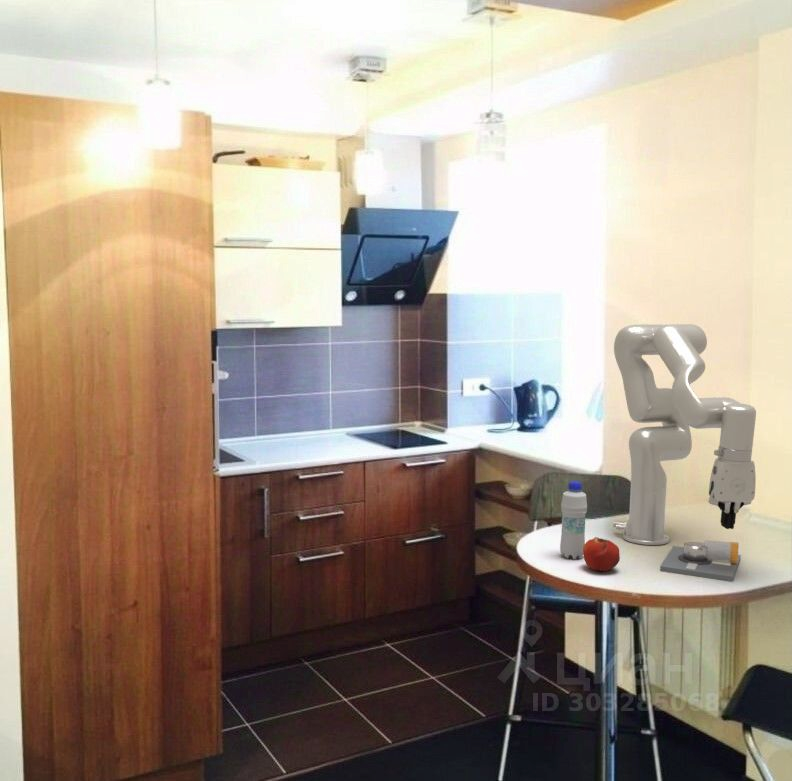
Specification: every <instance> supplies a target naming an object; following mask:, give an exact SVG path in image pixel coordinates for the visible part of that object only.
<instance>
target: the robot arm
mask: <svg viewBox="0 0 792 781" xmlns="http://www.w3.org/2000/svg"><path fill="white" fill-rule="evenodd" d="M615 336H616V337H615V339H614V343H613V353H614V357H615V361H616V364H617V367H618V370H619V371H620V374H621V379H622V384H623V389H624V396H625V400H626V406H627V407H626V408H627V410H628V414H629V417H630V418H631V420H632V421H634V422H635V423H639V424H640V423H642V424H650V423H652V424H653V423H661V424H662V425H661V426H645V427H640V428H638V429H635V430H634V431H633V432H632V433H631V435H630V437H629V439H628V450H629V455H630V494H629V495H630V496H629V514H628V517H629V518H628V520H625V521H620V520H613V522H612V523H613V525H612V526H613V528H615V529H616V530H623V533H622V539H624V540H626V541H627V542H628V543H629V542H630V543H633V544H636V545H643V546H644V545H645V546H661V545H666V544H668V543H669V542H670V536H669V535H668V534H667V533H665V520H666V518H665V517H666V496H667V475H666V471H665V469H664V468H663V466H662V463H661V462H666V461H667V462H668V461H678V460H683V459H685V458H687V457H688V456H689V455H690V453H691V451H692V448H693V439H692V432H691V430H690V428H693V429H698V430H700V429H720V435H719V436H720V437H719V444H718V445H719V446H718V449H715V450H713V455H714V456H717V457H716V458H715V460H714V462H713V465H712V468H711V472H710V478H709V484H708V495H709V499H708V501H707V502H708V504H711V506H712V505H713V506H716V507H718V508H719V510H720V511H721V513H720V526H722V528H725V529H727V530H733V529H734V528H735V524H736V519H737V517H736V516H737V514H738V513H739V512H740V509H741V508H743V507H744V506H747V505H748V506H749V505H751V504H752V501H753V500H755V496H756V481H757V480H756V465H755V461H754V460H752V456H753V455H752V454H753V446H754V444H753V443H754V435H755V426H756V420H757V419H756V418H757V410H756V408H755V407H754V406H752V405H750V404H746V403H741V402H739V401H737V400H735V399H734V398H730V397H723V396H722V397H698V396H697V394H695V392H694V391H693V389H692V386H691V385H690V384H692V383H695V382H696V381H697V380H698V379H700V378H701V377H702V375H703V374H704V372H705V370H706V363H705V361H704V360H703V358H702V356H701V354H702V353H703V352H704V351H705V350H706V348H707V345H708V344H707V343H708V339H707V335H706V333H705V331H704V330H703V329H702V328H701V327H700V326H698V325H696V324H693V323H692V324H690V323H688V324H685V323H684V324H682V323H681V324H679V323H676V324H673V323H672V324H647V323H646V324H643V323H642V324H632V325H631V324H630V325H628V326H624V327H622V328H620V330H619V331H618V332H617V334H616V335H615ZM643 356H659V357H660V359H661V360H662V361H663V363H664V365H665V366H666V368H667V369H668V371H669V372H670V374H671V376H672V377H673V382H672V387H671V388H669V387H668V388H667V387H666V388H665V387H662V388H661V387H660V388H658V387H657V385H656V381H655V376H654V372H653V369H652V368H651V367H650V365H649V364H648V363H647V360H645V359H644V358H643Z"/></svg>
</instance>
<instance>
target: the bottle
mask: <svg viewBox="0 0 792 781" xmlns="http://www.w3.org/2000/svg"><path fill="white" fill-rule="evenodd" d="M582 489H583V485H582V483H581V482H580V481H577V480H571V481H570V482H569V483H568V490H566V491H564V492H563V494H562V499H561V502H560V507H561V509H560V510H561V514H562V515H561V536H560V544H559V545H560V547H559V549H560V550H559V551H560V555H561V556H562V558H563V557H564V558H566V559H570V556H572V557H571V558H572V560H576V559H579V560H580V559H581V558H583V557H584V555H583V546H584V544H585V543H586V541H585V540H586V538H585V535H586V534H585V533H586V531H585V530H586V514H587V511H588V501H587V494H586V493H585V492H584V491H582Z"/></svg>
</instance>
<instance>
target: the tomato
mask: <svg viewBox="0 0 792 781" xmlns="http://www.w3.org/2000/svg"><path fill="white" fill-rule="evenodd" d="M620 555H621V554H620V548H619V546H618V545H617V544H615V543H614V542H613V541H611V540H610V539H604V538H601V537H600V538H599V537H597V536H595V537H594V538H592V539H588V540H587V541H585V544H584V546H583V559H584V560H583V561H584V562H585V564H586V566H587V567H588V568H589V569H591V570H594V571H601V572H607V571H610V570H612V569H613V568H615V567H616V566H617V565H619V562H620V558H621V556H620Z"/></svg>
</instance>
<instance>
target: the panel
mask: <svg viewBox="0 0 792 781" xmlns="http://www.w3.org/2000/svg"><path fill="white" fill-rule="evenodd" d="M683 551H684V546H678V545H672V547H671V549H670V550H669V551H668V553H667V555H666V556H665V558H664V560H663V561H662V563H661V565H660V568H659V571H660V572H664V571H666V573H671V572H672V573H673V574H678V575H684V576H685V575H686V576H692V577H700V578H706V579H711V580H712V579H713V580H720V581H727V582H733V581H734V578H735V575H736V573H737V570H738V568H739V565H740V561H741V558H742V557H741V556H742V555H741V554H738V562H737V563H727V562H717V561H705V562H693V561H689V560H686V559H684V558H683ZM672 573H671V574H672Z"/></svg>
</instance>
